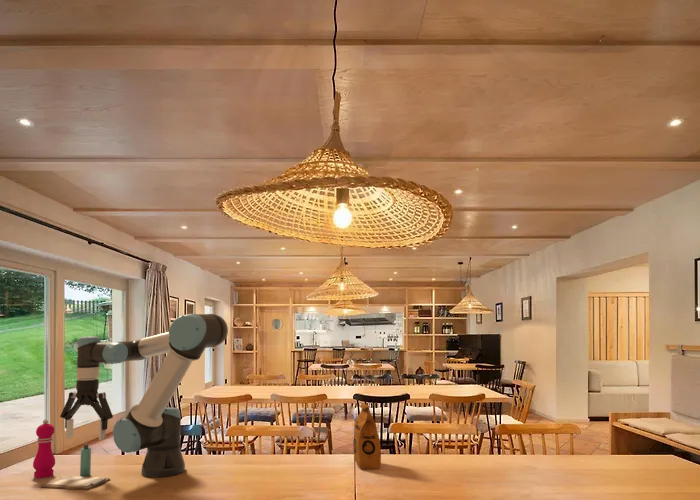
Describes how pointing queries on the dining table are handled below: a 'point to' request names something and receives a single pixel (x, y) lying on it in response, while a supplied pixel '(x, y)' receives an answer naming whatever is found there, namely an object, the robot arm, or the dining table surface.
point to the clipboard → (75, 482)
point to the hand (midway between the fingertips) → (85, 438)
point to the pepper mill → (44, 451)
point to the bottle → (85, 461)
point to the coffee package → (366, 440)
